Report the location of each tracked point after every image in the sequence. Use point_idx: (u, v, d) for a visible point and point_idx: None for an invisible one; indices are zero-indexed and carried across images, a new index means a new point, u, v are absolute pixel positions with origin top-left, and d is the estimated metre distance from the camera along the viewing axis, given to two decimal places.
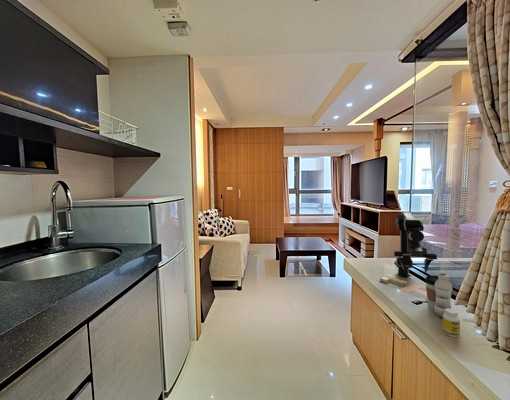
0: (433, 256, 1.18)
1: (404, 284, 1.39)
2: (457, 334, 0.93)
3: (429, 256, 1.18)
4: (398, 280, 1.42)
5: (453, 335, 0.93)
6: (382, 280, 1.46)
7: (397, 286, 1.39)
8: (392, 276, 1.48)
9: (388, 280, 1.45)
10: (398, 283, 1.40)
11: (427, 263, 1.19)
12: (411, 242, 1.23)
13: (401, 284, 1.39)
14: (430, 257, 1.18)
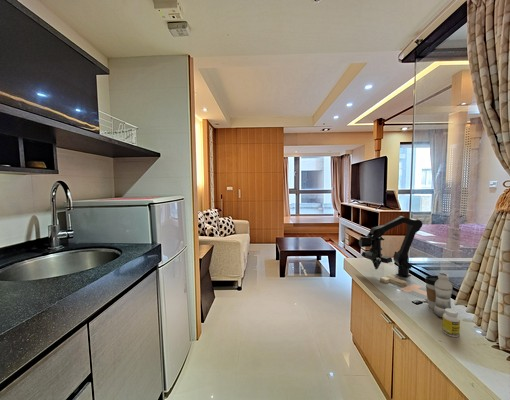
0: (384, 260, 1.47)
1: (404, 284, 1.39)
2: (457, 334, 0.93)
3: (381, 260, 1.48)
4: (398, 280, 1.42)
5: (453, 335, 0.93)
6: (382, 280, 1.46)
7: (397, 286, 1.39)
8: (392, 276, 1.48)
9: (388, 280, 1.45)
10: (398, 283, 1.40)
11: (376, 263, 1.54)
12: (371, 247, 1.55)
13: (401, 284, 1.39)
14: (382, 261, 1.48)
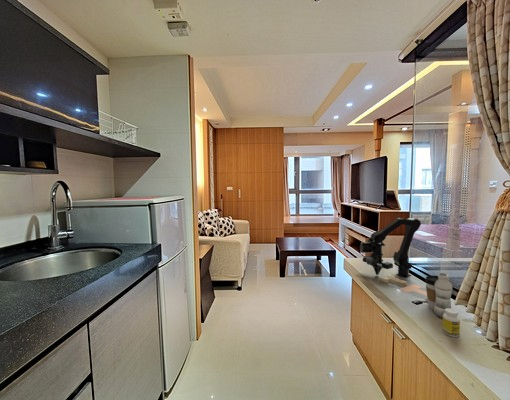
0: (385, 266, 1.47)
1: (404, 284, 1.39)
2: (457, 334, 0.93)
3: (382, 265, 1.48)
4: (398, 280, 1.42)
5: (453, 335, 0.93)
6: (382, 280, 1.46)
7: (397, 286, 1.39)
8: (392, 276, 1.48)
9: (388, 280, 1.45)
10: (398, 283, 1.40)
11: (377, 268, 1.54)
12: (372, 252, 1.54)
13: (401, 284, 1.39)
14: (383, 266, 1.48)
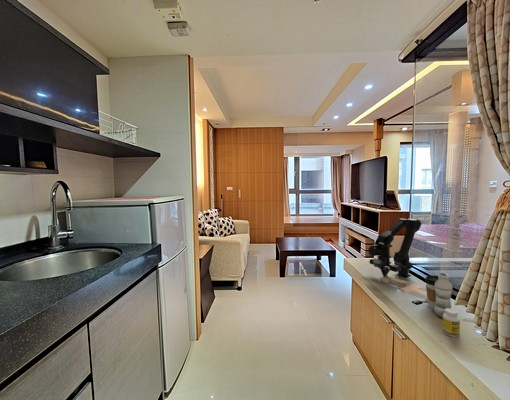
0: (393, 269, 1.42)
1: (404, 284, 1.39)
2: (457, 334, 0.93)
3: (390, 268, 1.43)
4: (398, 280, 1.42)
5: (453, 335, 0.93)
6: (382, 280, 1.45)
7: (397, 286, 1.39)
8: (392, 276, 1.48)
9: (388, 280, 1.45)
10: (398, 283, 1.40)
11: (384, 271, 1.49)
12: (380, 254, 1.50)
13: (401, 284, 1.39)
14: (391, 269, 1.43)
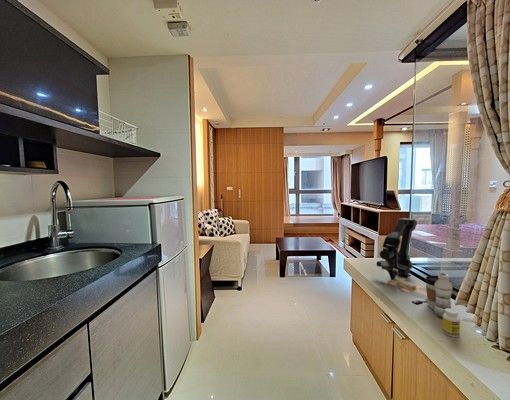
0: (401, 271, 1.37)
1: (413, 288, 1.34)
2: (457, 334, 0.93)
3: (399, 271, 1.38)
4: (407, 283, 1.37)
5: (453, 335, 0.93)
6: (390, 283, 1.41)
7: (397, 286, 1.39)
8: (400, 279, 1.43)
9: (396, 283, 1.40)
10: (407, 286, 1.35)
11: (392, 273, 1.44)
12: None
13: (410, 288, 1.34)
14: (399, 272, 1.38)
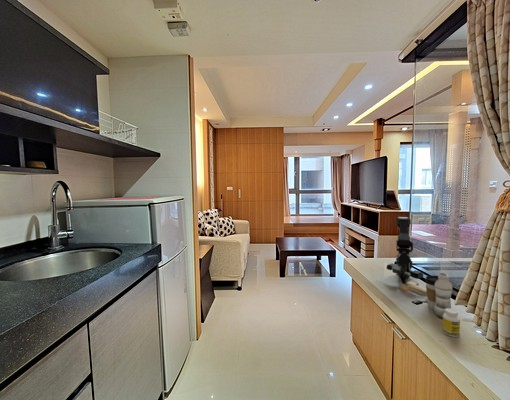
0: (414, 275, 1.31)
1: None
2: (457, 334, 0.93)
3: (411, 275, 1.32)
4: (419, 288, 1.31)
5: (453, 335, 0.93)
6: (402, 288, 1.34)
7: (397, 286, 1.39)
8: (412, 283, 1.37)
9: (408, 288, 1.33)
10: (420, 291, 1.29)
11: (404, 277, 1.38)
12: (399, 259, 1.38)
13: (423, 292, 1.27)
14: (412, 276, 1.32)
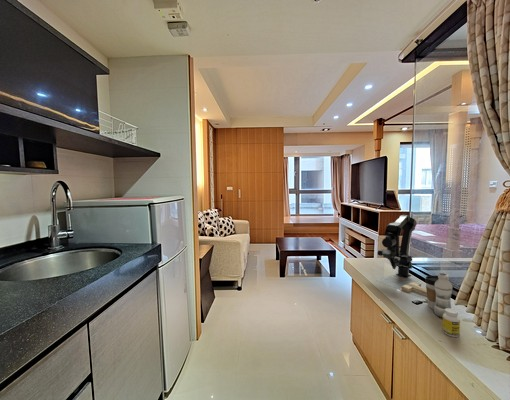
0: (403, 259, 1.35)
1: None
2: (457, 334, 0.93)
3: (400, 259, 1.37)
4: (422, 289, 1.30)
5: (453, 335, 0.93)
6: (404, 289, 1.33)
7: (397, 286, 1.39)
8: (415, 284, 1.36)
9: (411, 289, 1.32)
10: (423, 292, 1.28)
11: (394, 262, 1.42)
12: None
13: (426, 294, 1.26)
14: (401, 259, 1.37)
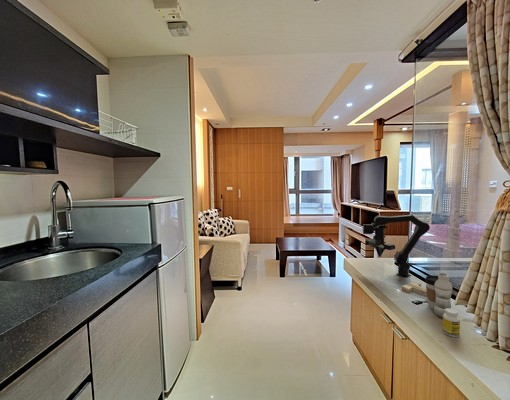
0: (387, 247, 1.50)
1: None
2: (457, 334, 0.93)
3: (385, 247, 1.51)
4: (422, 289, 1.30)
5: (453, 335, 0.93)
6: (404, 289, 1.33)
7: (397, 286, 1.39)
8: (415, 284, 1.36)
9: (411, 289, 1.32)
10: (423, 292, 1.28)
11: (379, 250, 1.57)
12: (375, 235, 1.57)
13: (426, 294, 1.26)
14: (385, 248, 1.51)
